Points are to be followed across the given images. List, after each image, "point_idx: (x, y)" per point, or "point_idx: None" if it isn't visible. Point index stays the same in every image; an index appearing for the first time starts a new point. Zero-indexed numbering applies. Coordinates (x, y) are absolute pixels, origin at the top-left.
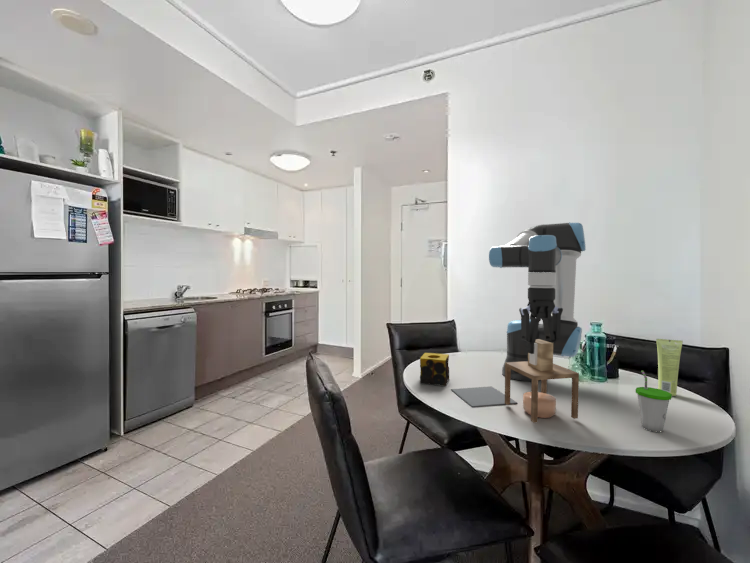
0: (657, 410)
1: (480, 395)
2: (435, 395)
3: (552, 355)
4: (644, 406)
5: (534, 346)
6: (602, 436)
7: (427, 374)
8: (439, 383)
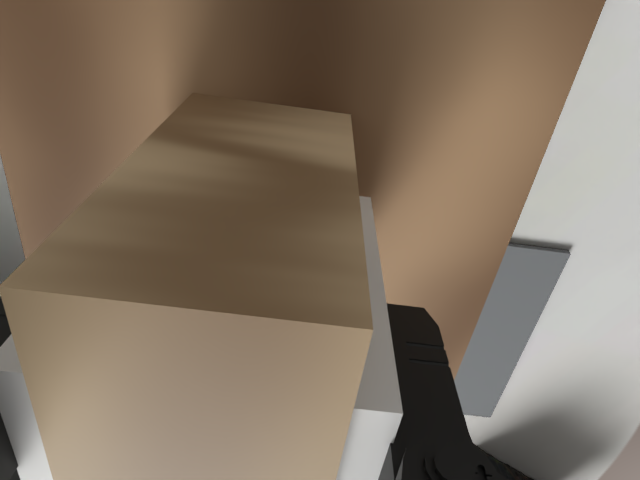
0: None
1: None
2: (599, 390)
3: (137, 160)
4: None
5: (390, 381)
6: None
7: None
8: (496, 465)
